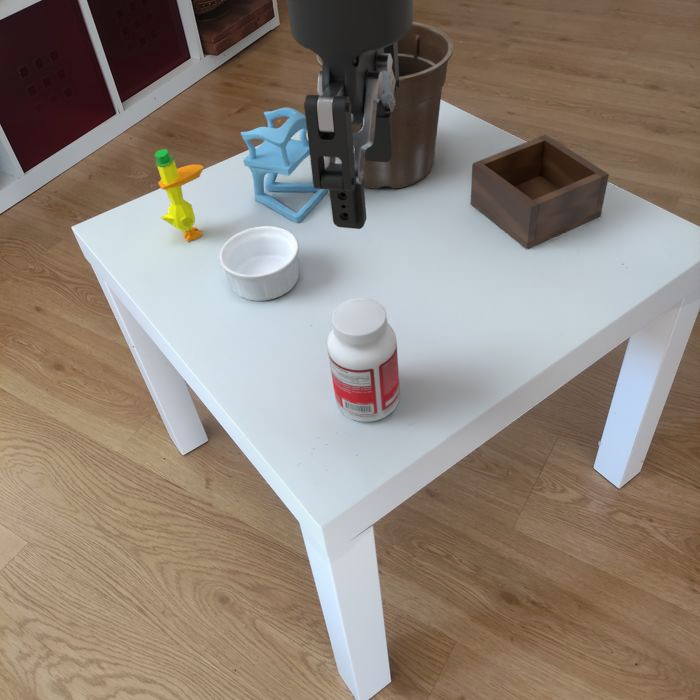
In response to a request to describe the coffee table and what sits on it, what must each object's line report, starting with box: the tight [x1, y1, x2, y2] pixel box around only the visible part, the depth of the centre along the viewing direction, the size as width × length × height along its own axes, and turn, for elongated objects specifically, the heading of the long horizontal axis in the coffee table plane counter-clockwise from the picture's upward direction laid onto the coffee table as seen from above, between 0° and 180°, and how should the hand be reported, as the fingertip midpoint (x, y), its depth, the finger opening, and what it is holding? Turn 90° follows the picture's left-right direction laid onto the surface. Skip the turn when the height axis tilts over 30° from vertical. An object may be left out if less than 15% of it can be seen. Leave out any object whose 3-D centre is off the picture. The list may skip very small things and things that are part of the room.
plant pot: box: [316, 21, 454, 190], centre depth 91 cm, size 16×16×16 cm
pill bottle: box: [326, 297, 401, 423], centre depth 65 cm, size 6×6×11 cm
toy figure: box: [154, 148, 204, 243], centre depth 86 cm, size 7×4×12 cm, turn 125°
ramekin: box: [218, 225, 300, 302], centre depth 81 cm, size 9×9×4 cm
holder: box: [470, 134, 610, 250], centre depth 86 cm, size 11×11×6 cm
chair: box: [240, 107, 329, 223], centre depth 89 cm, size 8×8×12 cm
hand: (365, 190), depth 53 cm, fingers open, 8 cm apart
